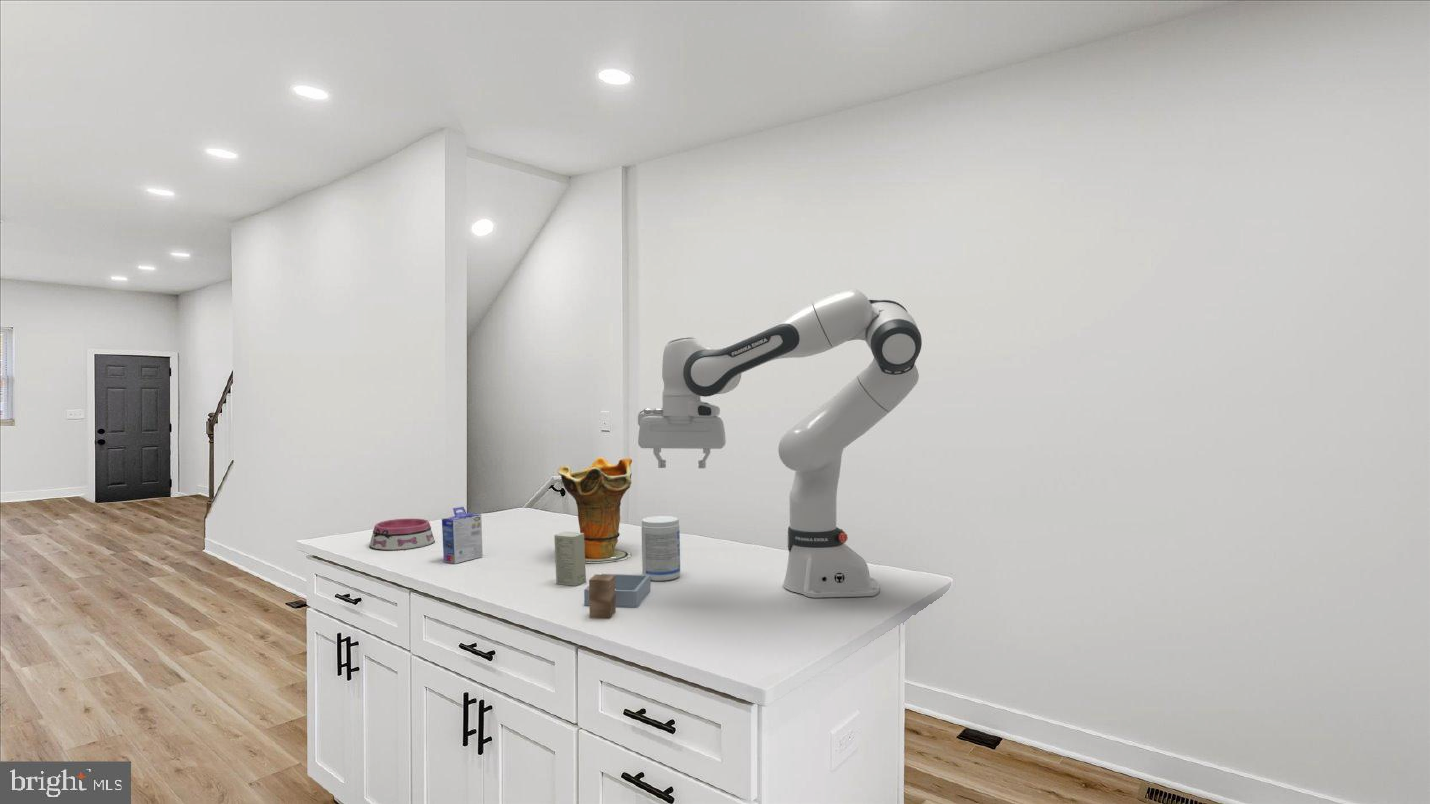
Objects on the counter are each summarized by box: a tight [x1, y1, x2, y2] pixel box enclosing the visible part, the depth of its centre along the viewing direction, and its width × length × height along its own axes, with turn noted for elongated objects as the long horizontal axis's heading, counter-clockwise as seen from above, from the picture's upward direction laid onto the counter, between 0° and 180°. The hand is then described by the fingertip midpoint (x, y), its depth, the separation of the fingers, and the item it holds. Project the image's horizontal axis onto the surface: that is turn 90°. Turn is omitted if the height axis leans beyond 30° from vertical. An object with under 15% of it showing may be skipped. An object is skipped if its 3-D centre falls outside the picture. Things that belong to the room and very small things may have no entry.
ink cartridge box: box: [441, 506, 484, 565], centre depth 205 cm, size 10×6×14 cm, turn 148°
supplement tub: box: [641, 515, 681, 582], centre depth 185 cm, size 10×10×15 cm
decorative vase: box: [557, 456, 633, 564], centre depth 207 cm, size 21×23×28 cm
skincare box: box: [553, 531, 587, 587], centre depth 180 cm, size 6×4×12 cm
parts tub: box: [583, 573, 652, 608], centre depth 168 cm, size 12×14×4 cm
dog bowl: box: [368, 518, 436, 552], centre depth 226 cm, size 18×19×7 cm
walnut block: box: [588, 573, 617, 620], centre depth 155 cm, size 4×4×8 cm
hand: (682, 467), depth 171 cm, fingers open, 8 cm apart
